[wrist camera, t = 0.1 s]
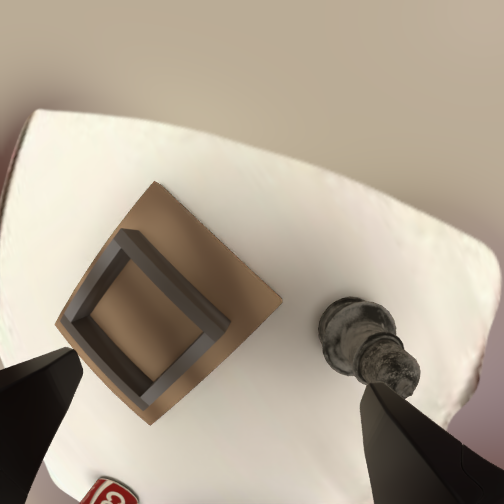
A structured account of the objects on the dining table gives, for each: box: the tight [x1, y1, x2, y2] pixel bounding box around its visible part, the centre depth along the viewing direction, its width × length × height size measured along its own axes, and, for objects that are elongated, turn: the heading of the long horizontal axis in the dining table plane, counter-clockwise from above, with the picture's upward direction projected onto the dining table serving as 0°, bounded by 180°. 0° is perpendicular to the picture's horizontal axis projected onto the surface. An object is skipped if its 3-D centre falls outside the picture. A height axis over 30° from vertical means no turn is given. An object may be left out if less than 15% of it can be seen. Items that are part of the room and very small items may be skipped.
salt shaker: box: [318, 297, 420, 399], centre depth 16 cm, size 6×6×12 cm
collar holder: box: [55, 181, 282, 425], centre depth 21 cm, size 18×14×4 cm
